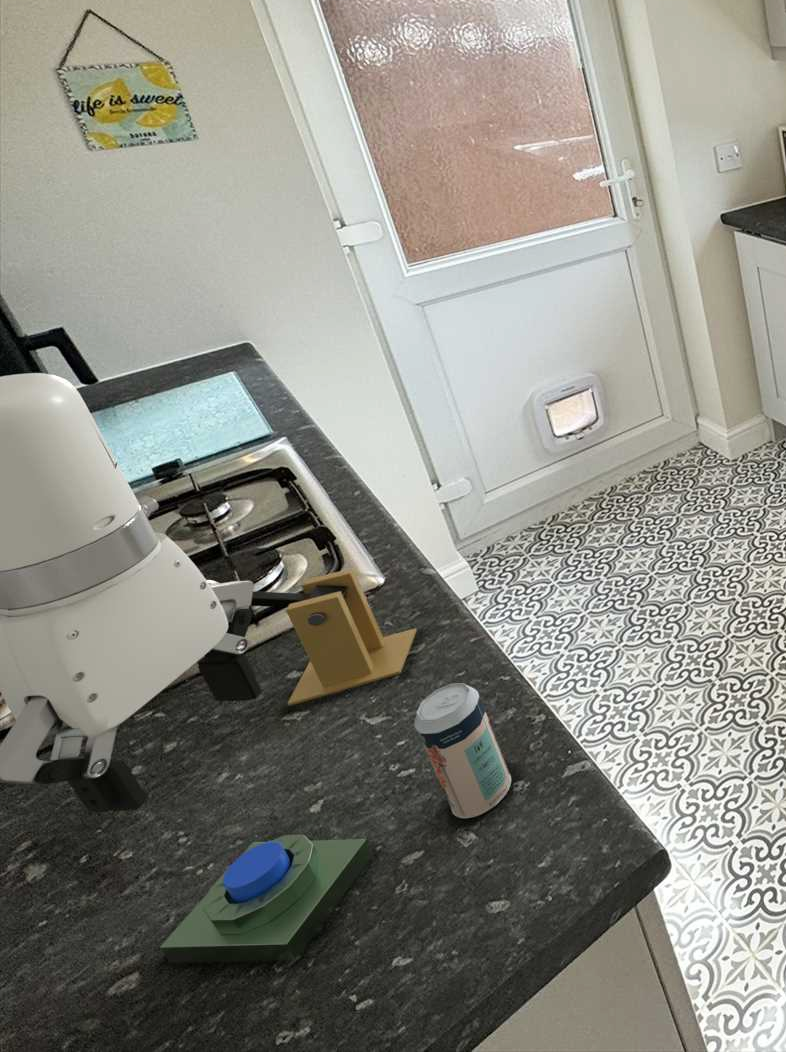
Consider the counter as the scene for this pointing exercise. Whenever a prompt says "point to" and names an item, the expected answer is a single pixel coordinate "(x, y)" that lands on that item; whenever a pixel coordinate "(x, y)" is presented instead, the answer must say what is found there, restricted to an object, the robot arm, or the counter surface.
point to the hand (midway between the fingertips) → (185, 747)
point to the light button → (256, 871)
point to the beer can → (463, 749)
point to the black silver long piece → (289, 595)
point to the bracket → (343, 639)
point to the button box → (271, 907)
